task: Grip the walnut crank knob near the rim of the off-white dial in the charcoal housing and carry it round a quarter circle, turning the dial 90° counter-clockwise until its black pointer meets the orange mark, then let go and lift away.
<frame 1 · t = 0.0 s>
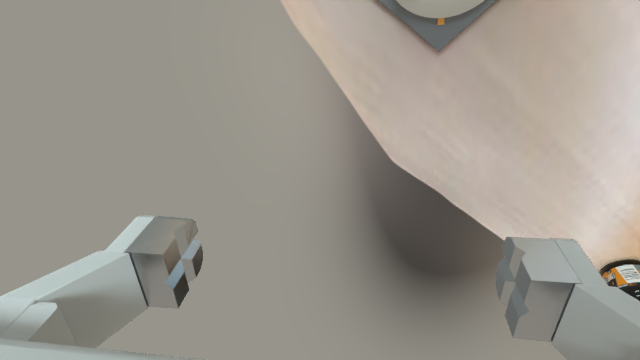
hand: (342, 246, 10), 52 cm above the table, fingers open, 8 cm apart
supplement container: (622, 267, 100), on the table
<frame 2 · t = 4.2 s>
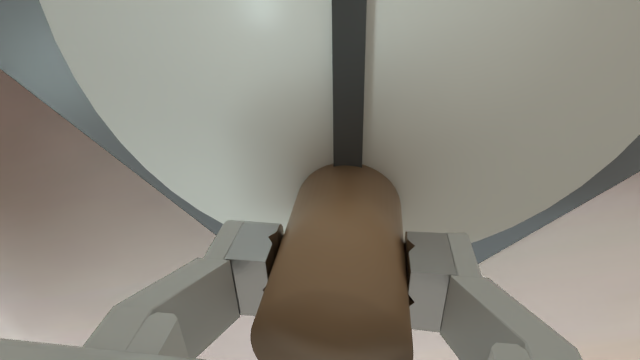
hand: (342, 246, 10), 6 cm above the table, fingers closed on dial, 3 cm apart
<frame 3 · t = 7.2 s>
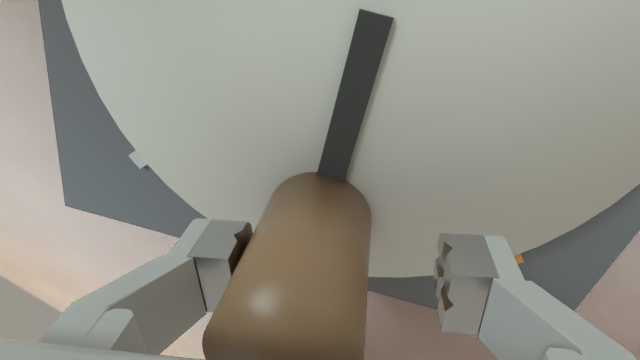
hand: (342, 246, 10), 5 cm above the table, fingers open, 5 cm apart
dial: (374, 22, 7), point 6 cm above the table, hinge at -0.2°, touching gripper
dial housing: (379, 0, 12), on the table
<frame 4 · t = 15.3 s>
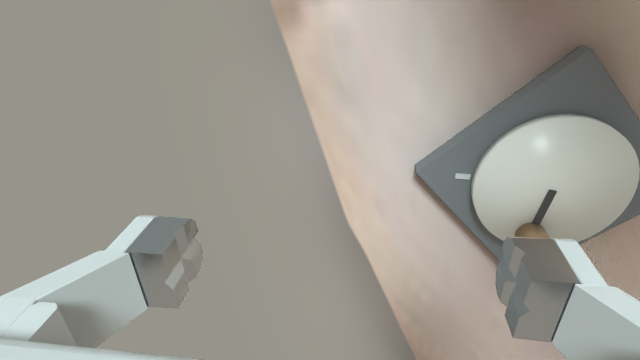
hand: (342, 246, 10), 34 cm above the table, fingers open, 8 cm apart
dial: (559, 198, 40), point 6 cm above the table, hinge at 37.5°
dial housing: (540, 172, 45), on the table
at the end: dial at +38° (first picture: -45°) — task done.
